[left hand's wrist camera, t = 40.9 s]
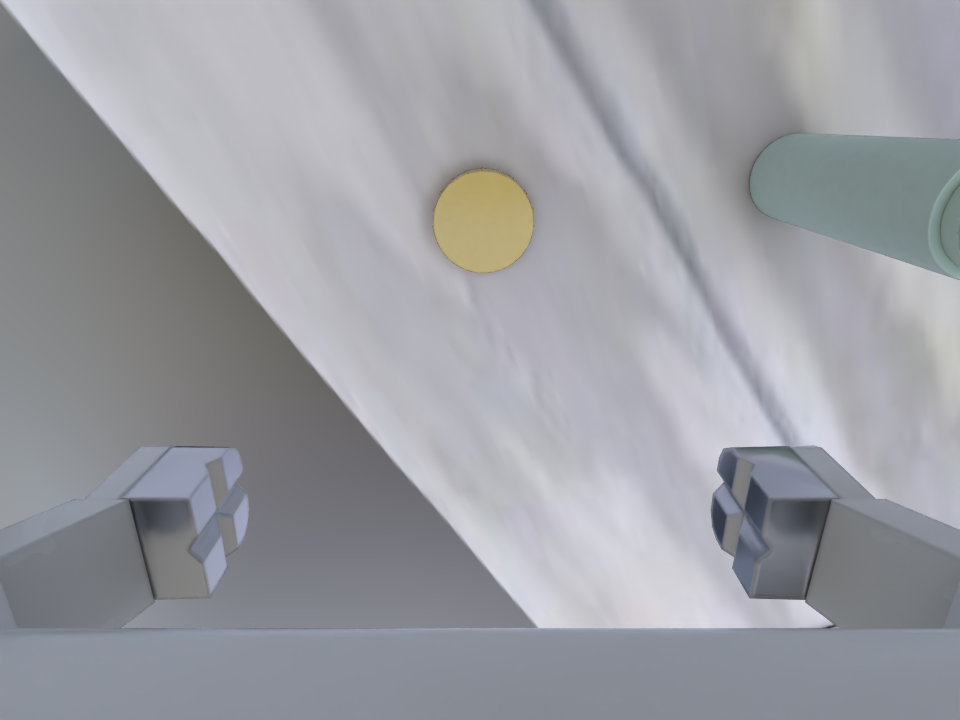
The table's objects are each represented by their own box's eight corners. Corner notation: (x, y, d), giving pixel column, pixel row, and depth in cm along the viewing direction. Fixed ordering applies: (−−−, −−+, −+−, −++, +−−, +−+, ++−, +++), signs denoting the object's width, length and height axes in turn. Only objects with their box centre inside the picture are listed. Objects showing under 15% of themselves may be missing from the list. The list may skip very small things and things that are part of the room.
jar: (731, 182, 36) (935, 233, 20) (797, 114, 34) (1072, 108, 18) (785, 235, 37) (1018, 324, 21) (850, 171, 35) (1153, 213, 19)
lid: (548, 192, 36) (552, 195, 34) (508, 281, 38) (509, 289, 36) (457, 150, 35) (455, 152, 33) (420, 244, 37) (417, 250, 35)
